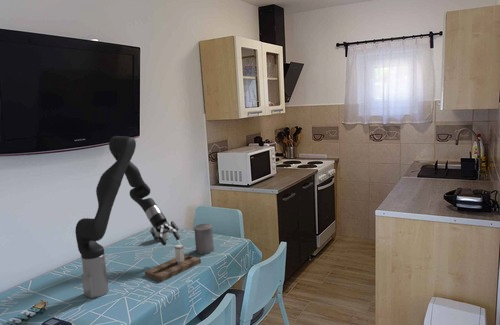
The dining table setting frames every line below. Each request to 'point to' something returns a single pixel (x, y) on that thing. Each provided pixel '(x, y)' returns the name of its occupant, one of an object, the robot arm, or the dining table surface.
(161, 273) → the fader console
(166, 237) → the can
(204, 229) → the pillar candle
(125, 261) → the dining table surface
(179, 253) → the fader tab
